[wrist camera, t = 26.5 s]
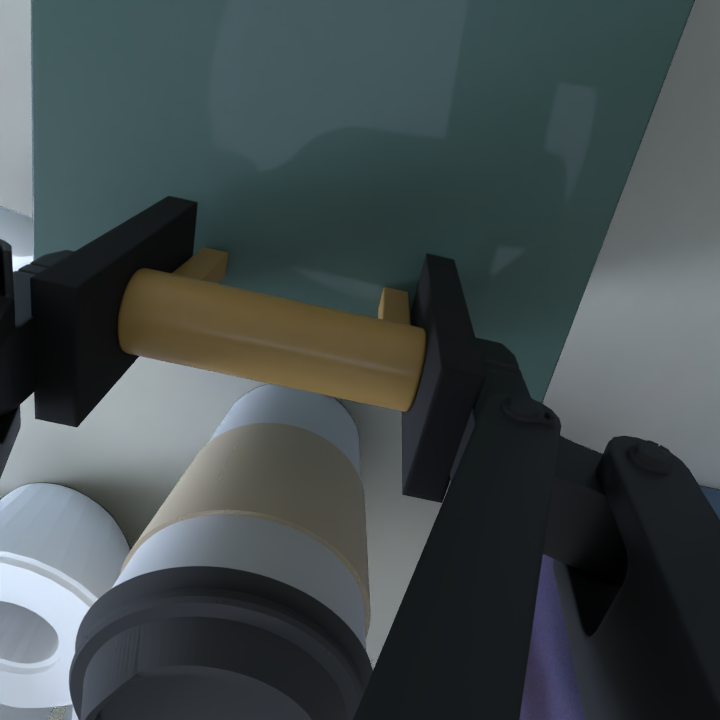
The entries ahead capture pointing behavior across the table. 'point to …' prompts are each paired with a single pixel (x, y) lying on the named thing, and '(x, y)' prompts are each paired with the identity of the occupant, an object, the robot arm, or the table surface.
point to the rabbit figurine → (17, 236)
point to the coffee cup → (242, 580)
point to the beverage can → (550, 659)
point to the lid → (345, 169)
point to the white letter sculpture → (49, 591)
